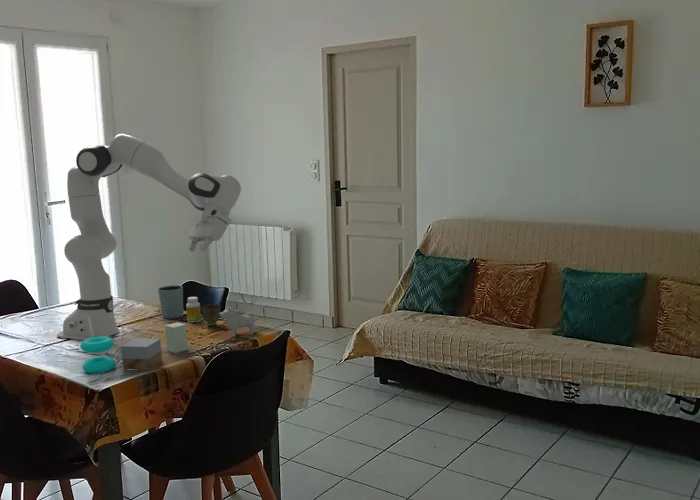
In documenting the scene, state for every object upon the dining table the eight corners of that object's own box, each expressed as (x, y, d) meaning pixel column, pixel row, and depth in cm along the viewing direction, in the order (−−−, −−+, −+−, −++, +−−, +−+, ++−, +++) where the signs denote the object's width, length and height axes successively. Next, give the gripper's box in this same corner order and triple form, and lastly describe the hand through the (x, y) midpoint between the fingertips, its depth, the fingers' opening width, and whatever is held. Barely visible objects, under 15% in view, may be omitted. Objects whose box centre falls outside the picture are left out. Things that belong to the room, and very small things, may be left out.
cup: (225, 323, 275) (223, 303, 274) (215, 328, 268) (214, 308, 267) (208, 322, 278) (207, 303, 276) (198, 327, 271) (197, 307, 269)
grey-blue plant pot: (181, 318, 286) (179, 289, 284) (156, 319, 286) (154, 290, 284) (187, 312, 296) (185, 284, 294) (163, 313, 296) (161, 285, 294)
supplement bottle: (197, 323, 277) (196, 299, 276) (185, 323, 279) (183, 299, 277) (203, 319, 283) (201, 296, 281) (190, 319, 284) (189, 296, 282)
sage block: (167, 350, 242) (165, 325, 240) (179, 347, 245) (177, 322, 244) (175, 353, 238) (173, 327, 237) (187, 349, 242) (185, 324, 241)
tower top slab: (122, 358, 222) (120, 346, 221) (136, 350, 231) (135, 338, 230) (148, 359, 220) (147, 346, 219) (161, 350, 229) (160, 339, 228)
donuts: (119, 336, 225) (98, 345, 215) (122, 366, 226) (101, 376, 217) (95, 334, 228) (72, 342, 219) (97, 363, 230) (76, 373, 220)
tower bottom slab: (123, 370, 223) (122, 358, 222) (137, 361, 231) (136, 350, 231) (149, 371, 221) (148, 359, 220) (162, 362, 230) (161, 350, 229)
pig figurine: (220, 334, 260) (218, 306, 259) (254, 330, 264) (252, 303, 262) (221, 337, 255) (219, 309, 254) (256, 334, 259) (254, 306, 257)
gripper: (194, 214, 258) (177, 246, 253) (220, 211, 241) (201, 245, 237) (208, 222, 261) (191, 255, 257) (234, 220, 245) (216, 254, 240)
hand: (196, 250), depth 247 cm, fingers open, 8 cm apart
